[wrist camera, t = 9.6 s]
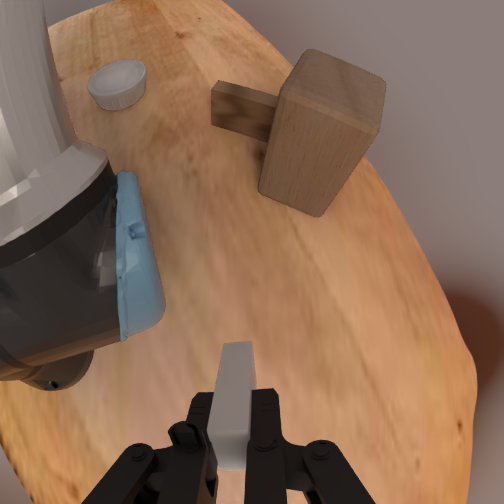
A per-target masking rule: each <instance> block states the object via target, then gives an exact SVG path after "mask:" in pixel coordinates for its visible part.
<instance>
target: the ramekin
mask: <svg viewBox="0 0 504 504" xmlns="http://www.w3.org/2000/svg"><path fill="white" fill-rule="evenodd" d="M146 74H147V72H146V67H145V65H144V64H143V63H142V62H140V61H138V60H133V59H125V60H119V61H115V62H112V63H110V64H107V65H105V66H104V67H102V68H100V69H99V70H98V71H97V72H95V73H94V74H93V76H92V77H91V78H90V80H89V82H88V90H89V93H90V94H91V95H92V96H93V97H94V99H95V101H96V102H97V104H98V105H99V106H100V107H101V108H103V109H105V110H109V111H117V110H122V109H125V108H127V107H129V106H131V105H133V104H134V103H136V102H137V101H138V100H139V99H140V98H141V96H142V95H143V93H144V91H145V81H146V80H145V78H146Z"/></svg>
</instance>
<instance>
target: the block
mask: <svg viewBox="0 0 504 504" xmlns="http://www.w3.org/2000/svg"><path fill="white" fill-rule="evenodd" d="M385 92H386V83H385V81H384V80H383V79H382V78H380V77H378V76H376V75H374V74H372V73H370V72H368V71H366V70H364V69H361V68H359V67H357V66H355V65H352V64H350V63H347V62H345V61H343V60H341V59H338V58H336V57H333V56H331V55H328V54H325V53H323V52H320V51H317V50H315V49H308V50H306V51H305V52H304V53H303V54H302V56H301V57H300V59H299V60H298V62H297V64H296V65H295V67H294V68H293V70H292V71H291V73H290V75H289V76H288V78H287V79H286V81H285V82H284V84H283V86H282V87H281V89H280V92H279V96H278V101H277V105H276V109H275V114H274V118H273V122H272V127H271V131H270V136H269V140H268V144H267V149H266V153H265V157H264V162H263V166H262V171H261V175H260V180H259V184H258V191H259V192H260V193H261V194H262V195H264V196H267V197H269V198H272V199H274V200H276V201H279V202H281V203H284V204H286V205H288V206H291V207H293V208H295V209H298V210H300V211H302V212H305V213H307V214H309V215H311V216H314V217H320V216H321V215H322V214H323V213H324V212H325V211H326V209H327V208H328V206H329V205H330V203H331V202H332V201H333V199H334V198H335V196H336V195H337V193H338V192H339V191H340V189H341V188H342V186H343V185H344V183H345V182H346V180H347V179H348V177H349V176H350V175H351V173H352V172H353V170H354V169H355V167H356V166H357V164H358V163H359V161H360V160H361V158H362V157H363V155H364V154H365V152H366V151H367V149H368V148H369V146H370V145H371V143H372V142H373V140H374V139H375V137H376V136H377V134H378V133H379V129H380V124H381V118H382V112H383V106H384V99H385Z"/></svg>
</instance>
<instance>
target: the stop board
mask: <svg viewBox="0 0 504 504" xmlns="http://www.w3.org/2000/svg"><path fill="white" fill-rule="evenodd" d="M277 101H278V97H277V96H274V95H270V94H267V93H264V92H261V91H257V90H254V89H250V88H247V87H243V86H240V85H236V84H232V83H228V82H224V81H220V80H218V81H217V83H216V84H215V85H214V87H213V88H212V89H211V119H212V125H214V126H218V127H221V128H224V129H228V130H231V131H234V132H237V133H240V134H244V135H247V136H250V137H253V138H256V139H259V140H262V141H265V142H268V140H269V136H270V131H271V127H272V122H273V118H274V114H275V109H276V105H277Z"/></svg>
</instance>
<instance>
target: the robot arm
mask: <svg viewBox="0 0 504 504" xmlns="http://www.w3.org/2000/svg"><path fill="white" fill-rule="evenodd" d="M165 308H166V301H165V296H164V291H163V287H162V282H161V278H160V274H159V270H158V266H157V262H156V257H155V253H154V249H153V244H152V240H151V236H150V231H149V227H148V222H147V217H146V213H145V208H144V204H143V199H142V194H141V190H140V186H139V182H138V177H137V174H136V173H135V172H133V171H127V172H125V171H123V170H122V171H120V172H118V175H115V174H114V173H113V171H112V168H111V166H110V163H109V160H108V157H107V155H106V153H105V151H104V150H103V149H101V148H98V147H96V146H93V145H91V144H88V143H86V142H83V141H81V140H80V139H79V138H78V137H77V136H76V134H75V131H74V128H73V125H72V122H71V119H70V116H69V112H68V109H67V106H66V103H65V99H64V96H63V92H62V89H61V85H60V81H59V78H58V74H57V70H56V66H55V62H54V57H53V53H52V48H51V44H50V39H49V34H48V29H47V23H46V17H45V11H44V5H43V0H0V381H12V380H20V381H22V382H24V383H26V384H28V385H30V386H32V387H35V388H37V389H40V390H45V391H56V390H62V389H66V388H69V387H71V386H73V385H74V384H76V383H77V382H78V381H79V380H80V379H81V378H82V377H83V376H84V375H85V373H86V372H87V370H88V368H89V366H90V363H91V360H92V357H93V352H94V349H97V348H100V347H103V346H106V345H109V344H113V343H116V342H119V341H121V342H122V341H125V340H126V339H127V338H128V337H129V336H131V335H134V334H136V333H138V332H141V331H143V330H145V329H148V328H150V327H152V326H154V325H156V324H157V323H158V322H159V321H160V319H161V318H162V317H163V315H164V312H165ZM256 383H257V380H256V373H255V364H254V356H253V348H252V341H249V342H235V343H224V345H223V350H222V355H221V360H220V365H219V370H218V375H217V380H216V386H215V391H214V392H198V393H197V394H196V395H195V397H194V398H193V399H192V401H191V405H190V408H189V412H188V415H187V419H186V421H181V422H178V423H175V424H174V425H173V426H171V427H170V428H169V430H168V434H169V436H170V438H171V441H172V443H173V445H172V446H170V447H167V448H162V449H155V450H153V449H152V447H151V446H149V445H147V444H143V443H137V444H133V445H131V446H129V447H128V448H126V449H125V450H124V452H123V453H122V454H121V455H120V457H119V458H118V459H117V460H116V462H115V463H114V464H113V465H112V467H111V468H110V469H109V470H108V472H107V473H106V474H105V475H104V477H103V478H102V479H101V480H100V481H99V483H98V484H97V485H96V486H95V488H94V489H93V490H92V491H91V493H90V494H89V495H88V496H87V497H86V499H85V500H84V501H83V502H82V503H81V504H216V497H217V489H218V475H217V465H218V467H219V470H246V476H245V496H244V504H287V494H286V489H291V490H297V491H303V494H304V496H305V498H306V500H307V502H308V504H376V503H375V502H374V500H373V499H372V498H371V496H370V495H369V493H368V492H367V490H366V489H365V487H364V486H363V484H362V483H361V481H360V480H359V478H358V477H357V475H356V474H355V472H354V471H353V469H352V468H351V466H350V465H349V463H348V462H347V460H346V459H345V457H344V456H343V454H342V452H341V451H340V449H339V448H338V446H336V445H335V444H334V443H333V442H330V441H328V440H317V441H313V442H311V443H309V444H308V445H307V446H299V445H294V444H291V443H289V442H288V441H286V440H285V439H284V437H283V435H282V430H281V418H280V406H279V395H278V394H277V392H276V391H275V390H274V388H270V389H257V390H256Z"/></svg>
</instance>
